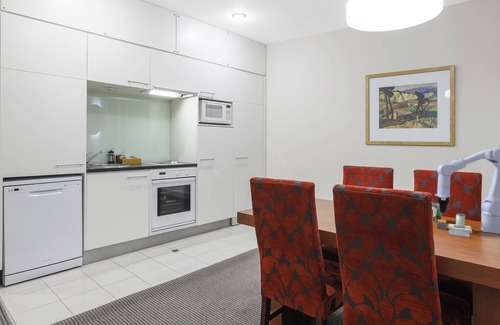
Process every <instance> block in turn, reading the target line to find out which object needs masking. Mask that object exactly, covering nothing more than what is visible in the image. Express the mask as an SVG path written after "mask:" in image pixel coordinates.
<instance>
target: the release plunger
mask: <svg viewBox="0 0 500 325" xmlns="http://www.w3.org/2000/svg"><path fill="white" fill-rule="evenodd" d="M438 223H439V224H446V223H447V220H446V219H441V220H438Z"/></svg>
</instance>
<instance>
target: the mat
mask: <svg viewBox="0 0 500 325" xmlns="http://www.w3.org/2000/svg"><path fill="white" fill-rule="evenodd" d="M447 231H448V236H455V237H462V238H463V237H464V238H471V235H470V233H467V232H459V231H451V230H449V229H447Z"/></svg>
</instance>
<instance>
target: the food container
mask: <svg viewBox="0 0 500 325" xmlns="http://www.w3.org/2000/svg"><path fill="white" fill-rule="evenodd" d="M431 203H432V210H433V221H432V222H433V223H436V224H437V222H438V220H442V212H440V207H439V203H436V202H431Z"/></svg>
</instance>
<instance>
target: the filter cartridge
mask: <svg viewBox="0 0 500 325" xmlns="http://www.w3.org/2000/svg"><path fill="white" fill-rule="evenodd" d="M465 221H466V215H465V214H464V213H457V214H455V225H456V228H464V226H466V225H465V223H466V222H465Z"/></svg>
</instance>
